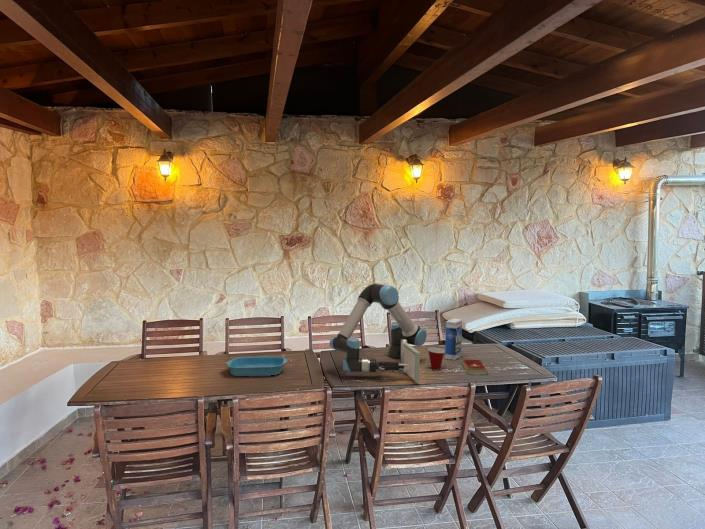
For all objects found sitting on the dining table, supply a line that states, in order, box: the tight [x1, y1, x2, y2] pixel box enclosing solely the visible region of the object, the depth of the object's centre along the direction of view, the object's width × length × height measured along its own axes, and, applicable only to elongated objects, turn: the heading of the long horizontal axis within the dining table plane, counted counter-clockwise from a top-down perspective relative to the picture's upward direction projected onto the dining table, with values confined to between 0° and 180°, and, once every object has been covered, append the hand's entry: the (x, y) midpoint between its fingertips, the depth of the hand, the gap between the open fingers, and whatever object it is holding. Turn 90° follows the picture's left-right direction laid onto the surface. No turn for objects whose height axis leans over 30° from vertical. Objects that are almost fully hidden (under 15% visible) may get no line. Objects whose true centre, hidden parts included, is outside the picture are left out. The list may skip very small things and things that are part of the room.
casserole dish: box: [225, 356, 288, 377], centre depth 286 cm, size 37×22×7 cm, turn 93°
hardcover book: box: [461, 358, 488, 376], centre depth 295 cm, size 12×21×4 cm, turn 175°
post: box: [393, 339, 407, 375], centre depth 289 cm, size 8×8×20 cm
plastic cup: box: [427, 347, 445, 370], centre depth 296 cm, size 11×11×12 cm
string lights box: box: [444, 318, 463, 361], centre depth 321 cm, size 13×8×26 cm, turn 148°
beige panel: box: [404, 343, 421, 383], centre depth 275 cm, size 23×2×17 cm, turn 12°
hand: (409, 366), depth 275 cm, fingers closed
